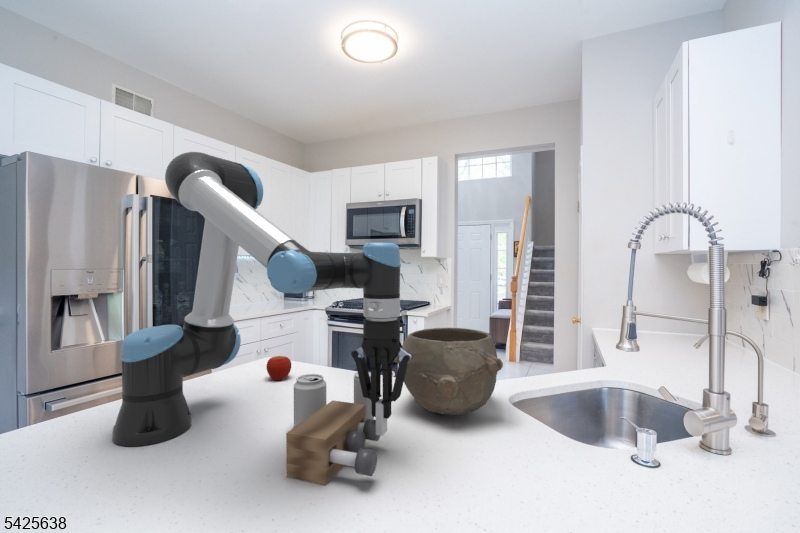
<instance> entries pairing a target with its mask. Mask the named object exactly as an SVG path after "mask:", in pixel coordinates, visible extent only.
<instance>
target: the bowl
mask: <svg viewBox="0 0 800 533" xmlns="http://www.w3.org/2000/svg"><path fill="white" fill-rule="evenodd" d="M401 345H402V349H403V350H404V351H406V352H407V353H412V355H413V357H412V359H411V360H410V362H409V363H408V366H407V370H406V374H405V378H404V382H403V384H404V385H405V387H406V388H407V391H408V392H409V393H410V394H411V397H412V398H413V399H414V400H415V402H416V403H418V404H419V405H421V407H423V408H425V410H428V411H429V412H432V413H436V414H439V415H447V416H462V415H465V414H469V413H473V412H475V411H477V410H480V408H482V407H484V406H485V405H486V404H487V403H488V401H489V400H490V399H491V397H492V395H493V393H494V390H495V387H496V383H497V375H498V372H499V371H500V370H502V369H503V366H504V363H503V360H501V358H499V357H498V354H497V348H496V344H495V341H494V338H493V337H492V335H490V333H488V332H485V331H483V330H477V329H472V328H466V327H465V328H463V327H433V328H432V327H431V328H424V329H421V330H420V329H419V330H415V331H413V332H411V333H409V334H408V335H407V336H406V338H405V340H404V342H403V343H402V344H401ZM393 362H394V363H396V364H398V365H399V364H400V361H399V354H398V356H397V357H396V358H395V360H394V361H393Z"/></svg>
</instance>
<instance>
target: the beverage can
mask: <svg viewBox="0 0 800 533" xmlns="http://www.w3.org/2000/svg"><path fill="white" fill-rule="evenodd" d="M368 372H369V377H370V382H371V371H368ZM353 403H356V404H364V405H366V420H367V419H374V420H375V417H372V402H371V400H370V399H369V398H364V397H363V394H362V390H361V385H360V380H359V376H358V371H357V372H355V373H354V376H353Z"/></svg>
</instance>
